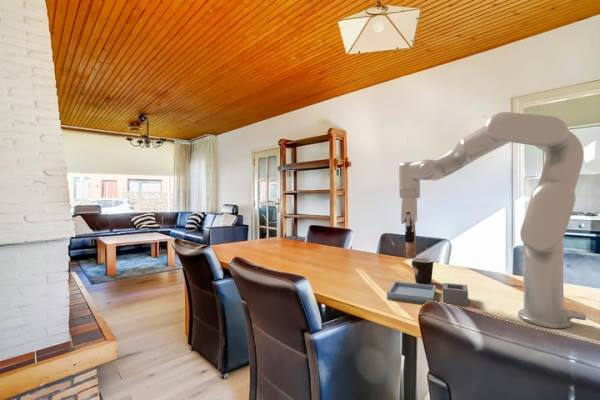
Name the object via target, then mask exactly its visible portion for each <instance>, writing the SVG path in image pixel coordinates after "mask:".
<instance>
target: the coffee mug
mask: <svg viewBox="0 0 600 400" xmlns="http://www.w3.org/2000/svg"><path fill="white" fill-rule="evenodd" d="M411 266H412V268H413V273H414V280H415V284H425V285H431V284H432V278H433V270H434V259H431V258H425V257H424V258H422V257H416V258H412V261H411Z"/></svg>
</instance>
